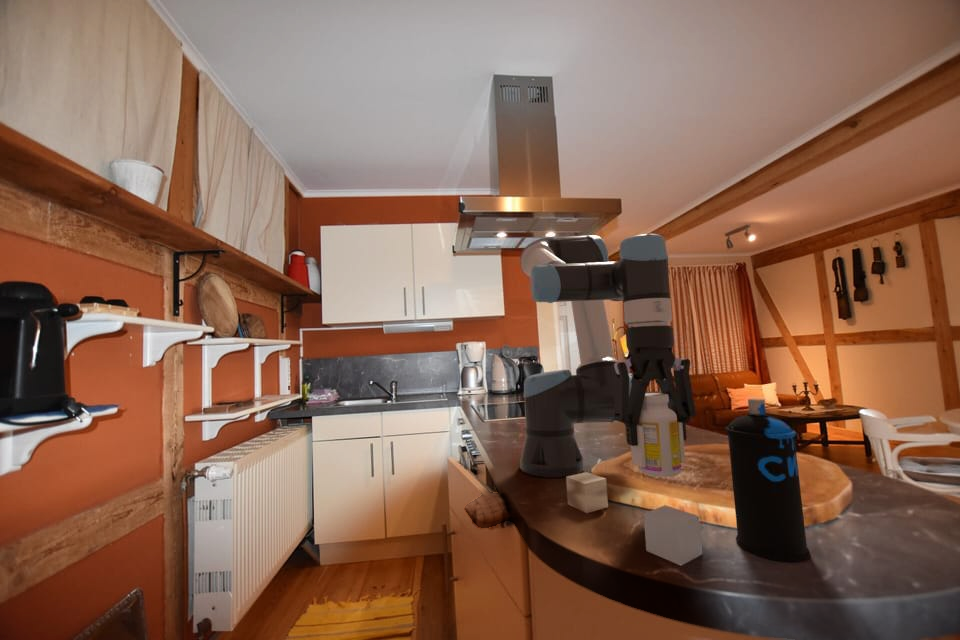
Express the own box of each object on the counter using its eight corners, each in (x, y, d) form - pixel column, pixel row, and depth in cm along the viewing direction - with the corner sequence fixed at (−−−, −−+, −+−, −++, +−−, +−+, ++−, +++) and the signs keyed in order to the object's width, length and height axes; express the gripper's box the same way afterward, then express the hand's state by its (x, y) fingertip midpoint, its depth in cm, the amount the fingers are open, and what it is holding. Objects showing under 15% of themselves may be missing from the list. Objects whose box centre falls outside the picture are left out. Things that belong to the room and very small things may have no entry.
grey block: (646, 551, 55) (643, 513, 55) (667, 541, 58) (665, 505, 58) (680, 566, 51) (677, 525, 51) (702, 554, 53) (699, 516, 54)
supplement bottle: (672, 466, 69) (666, 391, 70) (688, 478, 63) (682, 396, 64) (633, 466, 70) (627, 392, 71) (644, 478, 63) (638, 397, 64)
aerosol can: (722, 540, 57) (709, 399, 59) (761, 529, 60) (747, 395, 62) (783, 568, 49) (766, 404, 51) (825, 554, 52) (807, 399, 54)
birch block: (567, 504, 73) (566, 476, 74) (588, 499, 75) (586, 472, 76) (586, 513, 69) (584, 483, 69) (608, 507, 71) (606, 478, 71)
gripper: (608, 325, 62) (618, 475, 61) (714, 322, 67) (726, 462, 65) (585, 328, 70) (593, 462, 68) (682, 325, 74) (692, 451, 72)
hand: (658, 462), depth 66 cm, fingers closed on supplement bottle, 7 cm apart
